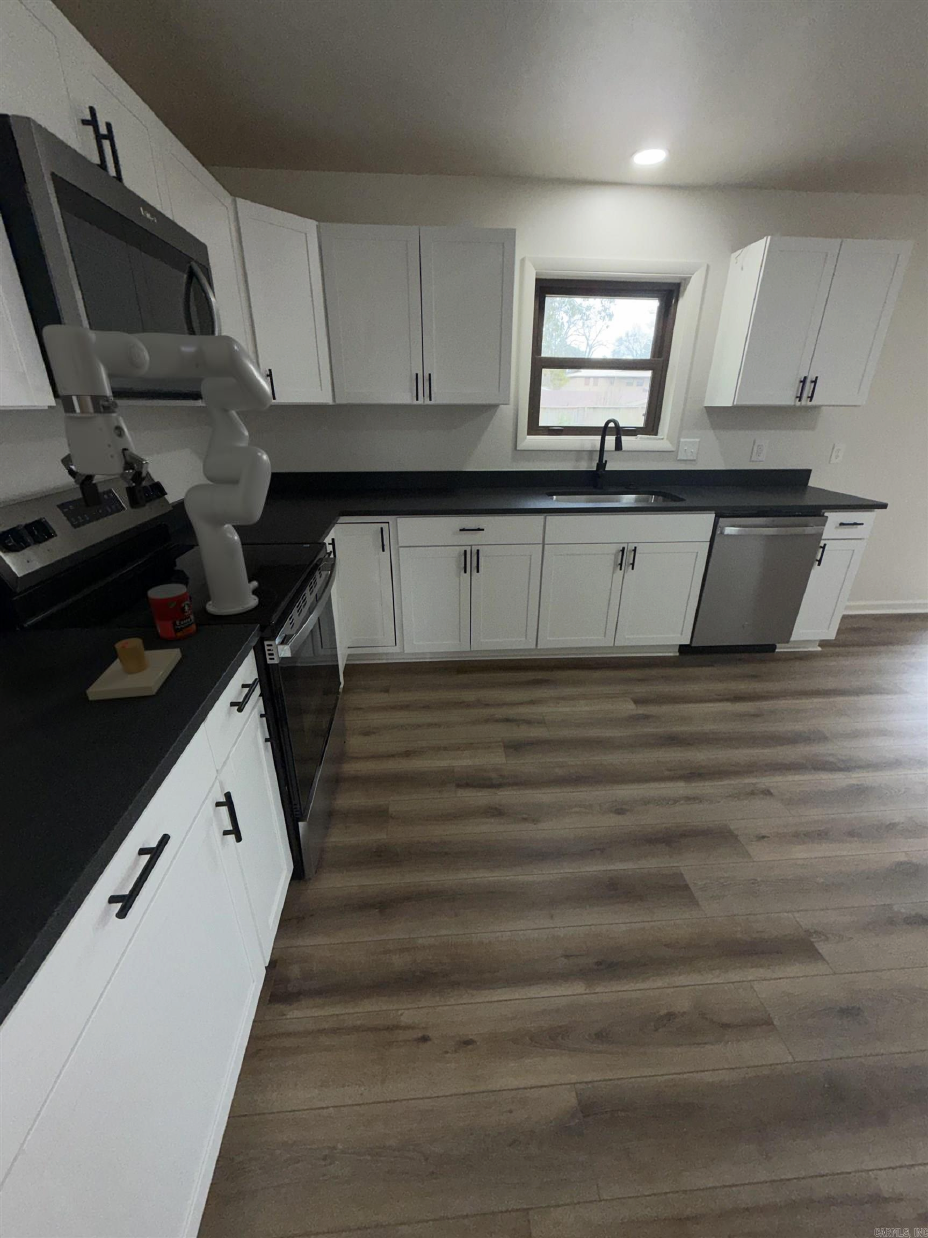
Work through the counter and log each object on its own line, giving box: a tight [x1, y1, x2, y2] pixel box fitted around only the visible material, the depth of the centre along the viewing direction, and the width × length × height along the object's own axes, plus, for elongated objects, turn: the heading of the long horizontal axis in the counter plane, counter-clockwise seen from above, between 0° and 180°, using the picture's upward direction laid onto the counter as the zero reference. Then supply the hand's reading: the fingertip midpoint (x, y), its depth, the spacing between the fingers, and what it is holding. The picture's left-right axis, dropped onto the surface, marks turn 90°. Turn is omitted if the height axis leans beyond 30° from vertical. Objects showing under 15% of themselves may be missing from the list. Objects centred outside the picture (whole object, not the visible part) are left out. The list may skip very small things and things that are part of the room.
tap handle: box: [114, 637, 149, 674], centre depth 96 cm, size 4×4×6 cm
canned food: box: [147, 583, 197, 641], centre depth 114 cm, size 8×8×11 cm
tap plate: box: [85, 648, 182, 701], centre depth 98 cm, size 15×11×2 cm
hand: (116, 506), depth 93 cm, fingers open, 9 cm apart
